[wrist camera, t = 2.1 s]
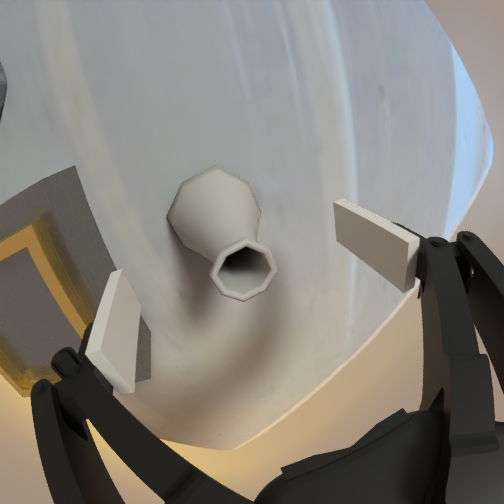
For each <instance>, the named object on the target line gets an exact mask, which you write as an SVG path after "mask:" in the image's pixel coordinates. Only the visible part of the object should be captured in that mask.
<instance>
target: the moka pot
mask: <svg viewBox="0 0 504 504" xmlns="http://www.w3.org/2000/svg"><path fill="white" fill-rule="evenodd" d="M5 93H6V76H5V72H4V69H3V67H2V65H1V63H0V114H1V111H2V108H3V104H4V99H5Z"/></svg>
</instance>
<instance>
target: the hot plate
mask: <svg viewBox="0 0 504 504" xmlns="http://www.w3.org/2000/svg"><path fill="white" fill-rule="evenodd" d="M114 271H117V269H116V267H115V265H114V263H113V261H112V259H111V257H110V254H109V252H108V250H107V248H106V246H105V243H104V241H103V239H102V237H101V234H100V232H99V229H98V227H97V225H96V222H95V220H94V217H93V215H92V212H91V210H90V207H89V204H88V202H87V199H86V196H85V194H84V191H83V188H82V185H81V182H80V179H79V176H78V173H77V170H76V167H75V165H74V166H72V167H70V168H67V169H65V170H62V171H60V172H58V173H55V174H53V175H51V176H49V177H46V178H44V179H42V180H40V181H39V182H37V183H35V184H33V185H32V186H30V187H28V188H27V189H25V190H23V191H22V192H20V193H19V194H17V195H15V196H14V197H12V198H11V199H9V200H8V201H6V202H5V203H3V204H2V205H0V373H1V375H2V376H3V377H4V378H5V379H6V380H7V381H8V382H9V383H10V384H11V385H12V386H13V387H14V388H15V390H16V391H17V392H18V393H19V394H20V395H21V396H22V397H30V394H31V390H32V387H33V385H34V384H35V383H36V382H37V381H39V380H40V379H47V380H49V381H50V382H51V383H52V384H55V383H57V382H59V381H61V380H62V379H61V378H60V377H59V376H58V375H57V373H56V372H55V371H54V370H53V369H52V368H51V360H52V358H53V356H54V355H55V354H56V353H57V352H58V351H59V350H60V349H62V348H65V347H71V348H73V349H74V350H75V352H76V353H77V354H78V351H79V347H80V345H81V341H82V339H83V334H84V331H85V329H86V328H87V326H88V325H89V323H90V322H94V321H95V318H96V314H97V311H98V308H99V305H100V302H101V299H102V296H103V293H104V291H105V288H106V285H107V282H108V279H109V277H110V274H111V272H114ZM147 379H151V332H150V330H149V329H148V327H147V325H146V323H145V322H144V320H143V318H142V317H141V315H140V321H139V330H138V341H137V354H136V370H135V382H139V381H143V380H147Z"/></svg>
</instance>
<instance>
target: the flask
mask: <svg viewBox="0 0 504 504" xmlns="http://www.w3.org/2000/svg"><path fill="white" fill-rule="evenodd" d="M260 216H261V211H260V209H259V206H258V204H257V202H256V199H255V197H254V195H253V193H252V190H251V188H250V186H249V183H248V181H246V180H244V179H242V178H240V177H238V176H236V175H234V174H232V173H230V172H228V171H226V170H224V169H222V168H220V167H218V166H214V167H212V168H210V169H208V170H206V171H204V172H202V173H200V174H198V175H196V176H194V177H192V178H190V179H188V180H186V181H185V182H183V183H182V184H181V186H180V188H179V190H178V192H177V194H176V196H175V198H174V201H173V203H172V205H171V207H170V209H169V211H168V214H167V218H168V219H169V221H170V223H171V225H172V226H173V228H174V230H175V231H176V233H177V235H178V236H179V238H180V240H181V241H182V243H183V245H184V246H186V247H188V248H190V249H192V250H194V251H196V252H198V253H199V254H201V255H202V256H204V257H205V258H207V259H209V260H210V261H211V262H212V264H213V265H212V267H211V269H210V271H209V275H210V277H211V278H212V280H213V282H214V283H215V285H216V286H217V288H218V290H219V291H220V293H221V294H222V295H224V296H227V297H230V298H233V299H236V300H239V301H242V302H245V301H246V300H248V299H250V298H252V297H254V296H256V295H258V294H260V293H262V292H264V291H266V289H267V288H268V286H269V284H270V283H271V281H272V280H273V278H274V276H275V275H276V273H277V271H278V268H277V266H276V263H275V261H274V259H273V256H272V254H271V252H270V250H269V248H268V247H266V246H264V245H261V244H259V243H258V242H257V235H258V225H259V221H260Z"/></svg>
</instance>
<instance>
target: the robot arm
mask: <svg viewBox="0 0 504 504" xmlns="http://www.w3.org/2000/svg"><path fill="white" fill-rule="evenodd" d="M333 206H334V216H335V227H336V239H337V242H339V243H340V244H341V245H343V246H344V247H345V248H347V249H348V250H349V251H351V252H352V253H353V254H355V255H356V256H357V257H359V258H360V259H361V260H363V261H364V262H365V263H366V264H368V265H369V266H370V267H372V268H373V269H374V270H375V271H377V272H378V273H379V274H381V275H382V276H383V277H384V278H386V279H387V280H388V281H389V282H391V283H392V284H393V285H394V286H396V287H397V288H398V289H399V290H400V291H402V292H403V293H404V292H406V291H408V290H410V289H412V288H413V287H414V284H415V277H417V278H418V279H420V280H421V281H420V287H419V292H418V299H419V298H420V296H421V307H422V321H423V349H424V365H423V367H424V368H423V393H422V401H421V405H420V408H419V411H414V412H410V413H406V411H405V410H404V409H403V408H402V409H400V410H399V411H397V412H396V413H394V414H392V415H391V416H389V417H388V418H386V419H384V420H383V421H381V422H379V423H378V424H376V425H375V426H374V427H373V428H372V429H371V430H370V431H369V432H368V433H367V434H365V435H364V436H363V437H362V438H361V439H360V440H358V441H357V442H356V443H355V444H354V445H352V446H351V447H349V448H345V449H341V450H337V451H333V452H328V453H323V454H318V455H313V456H311V457H308V458H306V459H303V460H301V461H298V462H295V463H293V464H290V465H287V466H284V467H281V470H282V473H283V474H281V475H279V476H278V477H276V478H275V479H274V480H272V481H271V482H270V483H269V484H267V485H266V486H265V487H264V489H263V490H262V491H261V492H260V493H259V495H258V496H257V497H256V499H255V501H254V502H253V501H251V500H249V499H247V498H245V497H243V496H242V495H240V494H238V493H236V492H234V491H233V490H231V489H229V488H227V487H226V486H224V485H222V484H221V483H219V482H218V481H216V480H214V479H213V478H211V477H209V476H208V475H207V474H205V473H204V472H202V471H201V470H199V469H198V468H197V467H195V466H193V465H192V464H191V463H189V462H188V461H187V460H185V459H184V458H183V457H181V456H180V455H179V454H177V453H176V452H175V451H173V450H172V449H171V448H170V447H168V446H167V445H166V444H165V443H163V442H162V441H161V440H160V439H159V438H158V437H156V436H155V435H154V434H153V433H152V432H151V431H149V430H148V429H147V428H146V427H145V426H144V425H143V424H142V423H141V422H140V421H138V420H137V419H136V418H135V417H134V416H133V415H132V414H131V413H130V412H129V411H128V410H127V409H126V408H125V407H124V406H123V405H122V404H121V403H120V402H119V401H118V400H117V399H116V398H115V397H114V396H113V388H114V389H115V390H116V391H117V392H118V393H119V394H120V395H123V394H128V393H133V392H135V370H136V354H137V341H138V330H139V321H140V312H141V305H140V303H139V301H138V299H137V297H136V295H135V293H134V291H133V290H132V288H131V286H130V284H129V282H128V279H127V277H126V275H125V273H124V271H123V269H120V270H117V271H114V272H111V274H110V277H109V279H108V282H107V285H106V288H105V291H104V293H103V296H102V299H101V302H100V305H99V308H98V311H97V314H96V318H95V321H94V322H90V323H89V325H88V326H87V328H86V329H85V331H84V334H83V339H82V341H81V345H80V347H79V351H78V354H77V353H76V352H75V350H74V349H73V348H71V347H65V348H62V349H60V350H59V351H58V352H57V353H56V354H55V355H54V356H53V358H52V360H51V368H52V369H53V370H54V371H55V372H56V373H57V375H58V376H59V377H60V378H61V379H62V380H61V381H59V382H57V383H55V384H52V383H51V382H50V381H49V380H47V379H40V380H39V381H37V382H36V383H35V384H34V385H33V387H32V390H31V394H30V397H31V406H32V414H33V422H34V428H35V434H36V439H37V444H38V449H39V454H40V458H41V462H42V466H43V470H44V473H45V477H46V480H47V484H48V487H49V490H50V493H51V496H52V499H53V501H54V504H125V502H124V501H123V499H122V498H121V496H120V494H119V492H118V490H117V488H116V487H115V485H114V483H113V481H112V479H111V478H110V475H109V473H108V471H107V469H106V467H105V465H104V463H103V461H102V459H101V456H100V454H99V452H98V450H97V447H96V445H95V442H94V440H93V438H92V435H91V433H90V430H89V427H88V424H87V422H86V419H89V420H90V422H91V423H92V424H93V426H94V427H95V428H96V430H97V431H98V432H99V434H100V435H101V436H102V437H103V439H104V440H105V441H106V442H107V443H108V445H109V446H110V447H111V448H112V449H113V450H114V451H115V453H116V454H117V455H118V456H119V457H120V458H121V459H122V461H123V462H124V463H125V464H126V465H127V466H128V467H129V468H130V469H131V470H132V471H133V472H134V473H135V474H136V475H137V476H138V477H139V478H140V479H141V480H142V481H143V482H144V483H145V484H146V485H147V486H148V487H149V488H150V489H152V490H153V491H154V492H155V493H156V494H157V495H158V496H159V497H160V498H161V499H163V500H164V502H165V504H504V422H497V421H495V414H494V397H493V386H492V378H491V370H490V364H489V359H488V356H487V355H486V354H480V353H479V348H478V342H477V338H476V332H475V327H476V329H477V331H478V333H479V335H480V337H481V339H482V341H483V344H484V346H485V348H486V350H487V352H488V355H489V357H490V360H491V362H492V365H493V367H494V370H495V373H496V375H497V378H498V381H499V383H500V386H501V388H502V391H503V394H504V266H503V264H502V263H501V262H500V261H499V259H498V258H497V257H496V256H495V255H494V254H493V252H491V250H490V249H489V248H488V247H487V246H486V245H485V244H484V243H483V242H482V241H481V239H480V238H479V237H478V236H476V235H475V234H474V233H471V232H470V231H469V232H468V231H461V232H459V233H458V234H457V240H456V242H451V243H449V242H448V241H447V240H445V239H444V238H441V237H429V238H427V239H426V238H424V237H423V236H421V235H419V234H417V233H415V232H413V231H411V230H410V229H408V228H406V227H404V226H402V225H400V224H398V223H394V222H390V221H388V220H386V219H384V218H382V217H380V216H378V215H376V214H374V213H372V212H370V211H368V210H366V209H364V208H362V207H359V206H357V205H355V204H353V203H351V202H349V201H347V200H345V199H341V200H337V201H334V202H333ZM472 271H473V272H474V273H473V274H472ZM474 325H475V327H474Z"/></svg>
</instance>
